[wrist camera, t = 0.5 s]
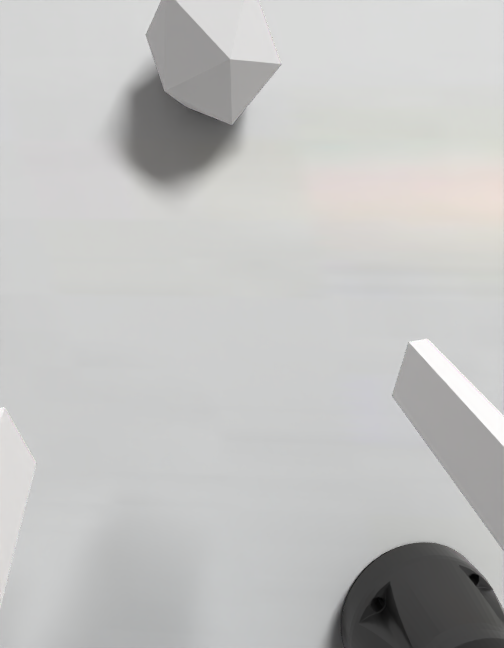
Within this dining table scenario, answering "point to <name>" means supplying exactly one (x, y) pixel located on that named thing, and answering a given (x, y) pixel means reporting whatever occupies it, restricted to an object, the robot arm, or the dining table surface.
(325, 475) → the dining table surface
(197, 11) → the die
